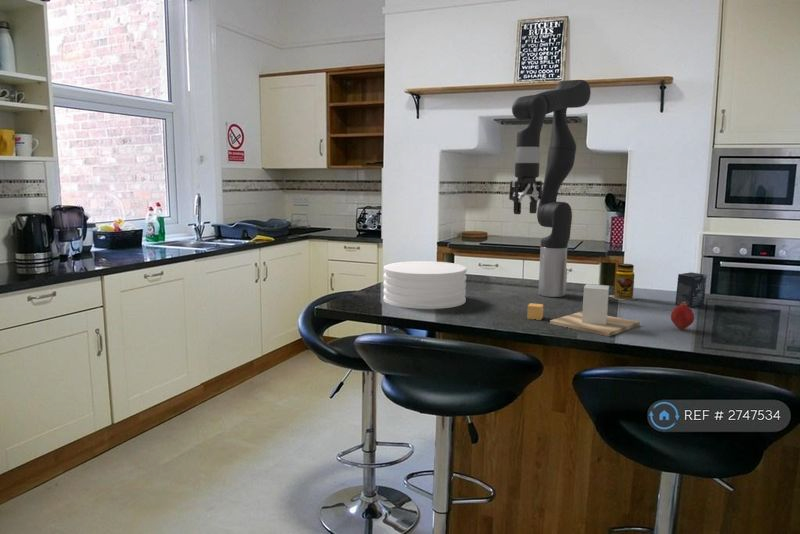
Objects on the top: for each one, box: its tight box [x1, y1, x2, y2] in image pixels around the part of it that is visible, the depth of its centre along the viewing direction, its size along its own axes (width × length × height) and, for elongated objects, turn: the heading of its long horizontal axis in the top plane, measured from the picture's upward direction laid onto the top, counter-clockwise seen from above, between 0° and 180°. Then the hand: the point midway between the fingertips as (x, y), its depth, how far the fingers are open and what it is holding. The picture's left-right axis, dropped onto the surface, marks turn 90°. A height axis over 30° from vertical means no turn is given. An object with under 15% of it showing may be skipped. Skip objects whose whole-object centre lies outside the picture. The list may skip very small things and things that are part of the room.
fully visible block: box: [526, 302, 544, 321], centre depth 174 cm, size 4×4×4 cm
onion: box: [670, 302, 695, 331], centre depth 162 cm, size 6×6×8 cm
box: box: [675, 271, 708, 309], centre depth 193 cm, size 8×6×11 cm
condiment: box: [608, 263, 639, 301], centre depth 205 cm, size 7×8×12 cm
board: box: [549, 310, 641, 337], centre depth 167 cm, size 18×18×1 cm
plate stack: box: [383, 260, 467, 310], centre depth 198 cm, size 28×28×12 cm
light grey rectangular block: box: [581, 283, 610, 325], centre depth 166 cm, size 6×6×10 cm
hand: (525, 213), depth 185 cm, fingers open, 8 cm apart
